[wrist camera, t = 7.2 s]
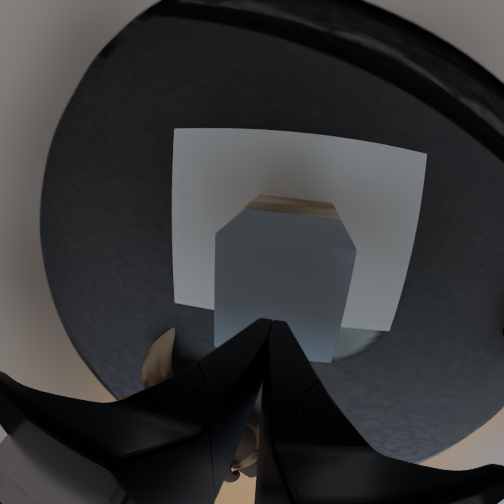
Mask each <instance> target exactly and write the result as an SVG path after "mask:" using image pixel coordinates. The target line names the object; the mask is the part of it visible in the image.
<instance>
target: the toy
mask: <svg viewBox="0 0 504 504" xmlns="http://www.w3.org/2000/svg"><path fill="white" fill-rule="evenodd" d="M174 338H175V328H172V329H170V330H168V331H167V332H165V333H164V334H163V335H161V336H160V337H159V338H158V339H157V340H156V341H155V342H154V343H153V345H152V346H151V348H150V349H149V351H148V353H147V355H146V357H145V360H144V364H143V369H142V382H143V386H144V389H147V388H149V387H151V386H153V385H155V384H158V383H160V382H162V381H164V380H166V379H168V378H170V377H171V376H173V372H172V365H171V357H172V349H173V343H174ZM127 397H129V396H122V397H120V400H122V399H124V398H127ZM258 447H259V433H258V431H257V430H256V429H254V428H253V427H251V426H246V428H245V430H244V433H243V436H242V438H241V441H240V443H239V446H238V448H237V450H236V453H235V455H234V458H233V460H232V463H231V465H230V467H229V470H228V472H227V474H226V477H225V479H224V481H226V482H234V481H236V480H237V479H238V478H239V476H240V472H242V473H243V474H245V475H246V476H248V477H256V476H257V462H258V453H257V452H258ZM231 467H232V468H233V469H235V471H233V472H232V471H231ZM238 470H239V471H240V472H239V471H238Z"/></svg>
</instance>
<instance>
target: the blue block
mask: <svg viewBox="0 0 504 504" xmlns="http://www.w3.org/2000/svg"><path fill="white" fill-rule="evenodd" d="M356 252H357V249H356V247H355V245H354V243H353V241H352V239H351V238H350V236H349V234H348V232H347V230H346V228H345V226H344V224H343V222H342V221H341V220H340V219H333V218H324V217H316V216H307V215H299V214H290V213H280V212H270V211H260V210H250V209H244V210H242V211H241V212H240V213H239V214H238V215H237V216H235V217H234V218H233V219H232V220H231V221H229V222H228V223H227V224H226V225H225V226H224V227H222V228H221V229H220V230H219V231H218V232H217V233H216V234H215V278H214V342H215V347H219V346H220V345H221V344H223V343H224V342H226V341H227V340H229V339H230V338H232V337H233V336H235V335H236V334H237V333H239V332H240V331H242V330H243V329H245V328H246V327H247V326H249V325H250V324H252V323H253V322H254V321H256V320H257V319H259V318H267V319H271V320H272V323H273V320H282V321H286V322H287V324H288V325H289V327H290V329H291V330H292V332H293V334H294V336H295V337H296V339H297V341H298V342H299V344H300V346H301V348H302V349H303V351H304V353H305V354H306V356H307V358H308V360H309V361H316V362H326V363H331V361H332V357H333V354H334V350H335V346H336V343H337V339H338V335H339V331H340V327H341V323H342V319H343V315H344V311H345V306H346V302H347V297H348V293H349V288H350V283H351V278H352V273H353V268H354V263H355V258H356Z"/></svg>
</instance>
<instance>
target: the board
mask: <svg viewBox="0 0 504 504" xmlns="http://www.w3.org/2000/svg"><path fill="white" fill-rule="evenodd" d="M426 158H427V154H425V153H421V152H416V151H412V150H408V149H403V148H398V147H393V146H389V145H383V144H378V143H373V142H367V141H361V140H355V139H348V138H341V137H334V136H326V135H318V134H309V133H299V132H288V131H275V130H259V129H234V128H183V129H174V146H173V173H172V250H173V277H174V296H175V303H179V304H184V305H190V306H195V307H201V308H206V309H212V310H214V278H215V234H216V233H217V232H218V231H219V230H220V229H221V228H222V227H224V226H225V225H226V224H227V223H228V222H229V221H231V220H232V219H233V218H234V217H235V216H237V215H238V214H239V213H240V212H241V211H242V210H244V207H245V206H246V205H247V204H248V203H250V202H251V201H252V200H253V199H254V198H256V197H257V196H258V195H266V196H276V197H286V198H295V199H304V200H313V201H321V202H329V203H333V205H334V207H335V209H336V210H337V212H338V214H339V216H340V218H341V219H340V220H341V221H342V222H343V224H344V226H345V228H346V230H347V232H348V234H349V236H350V238H351V239H352V241H353V243H354V245H355V247H356V249H357V252H356V258H355V263H354V268H353V273H352V278H351V283H350V288H349V293H348V297H347V302H346V306H345V311H344V315H343V319H342V323H341V327H346V328H357V329H368V330H381V331H390V328H391V325H392V322H393V319H394V315H395V312H396V309H397V306H398V302H399V299H400V296H401V292H402V288H403V285H404V281H405V277H406V273H407V269H408V265H409V261H410V257H411V253H412V248H413V243H414V239H415V234H416V229H417V223H418V218H419V212H420V206H421V199H422V192H423V185H424V177H425V168H426Z"/></svg>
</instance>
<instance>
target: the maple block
mask: <svg viewBox="0 0 504 504" xmlns="http://www.w3.org/2000/svg"><path fill="white" fill-rule="evenodd" d="M244 209H250V210H260V211H270V212H280V213H290V214H299V215H307V216H316V217H324V218H333V219H341V218H340V216H339V214H338V212H337V210H336V209H335V207H334V205H333V203H329V202H321V201H313V200H304V199H295V198H286V197H276V196H266V195H258V196H257V197H256V198H254V199H253V200H252V201H251V202H250V203H248V204H247V205H246V206H245V207H244Z"/></svg>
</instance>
